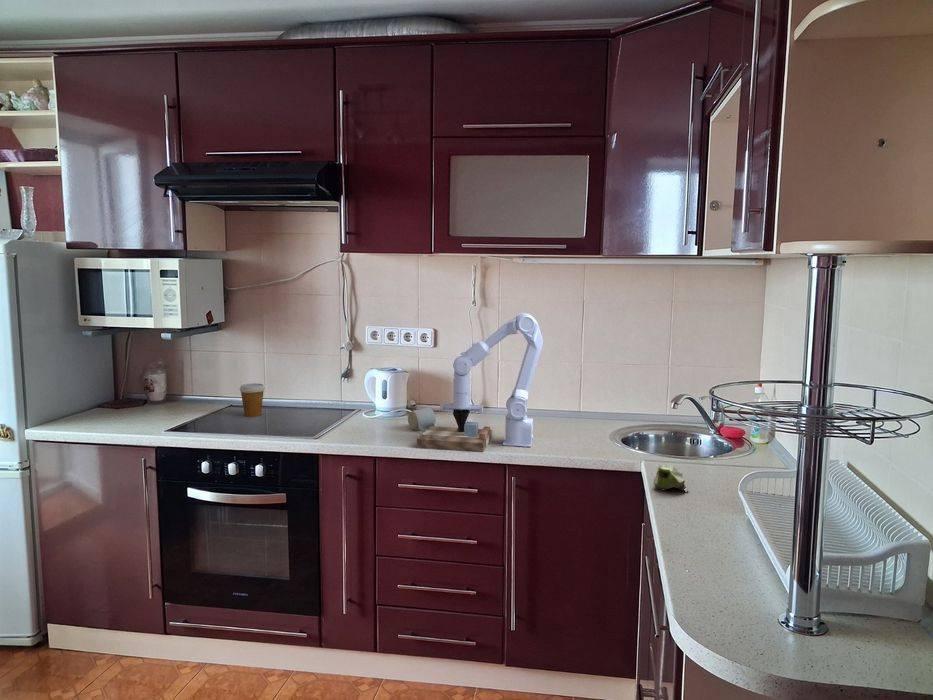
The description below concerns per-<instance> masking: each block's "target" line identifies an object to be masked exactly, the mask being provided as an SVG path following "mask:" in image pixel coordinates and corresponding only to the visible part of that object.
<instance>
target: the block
mask: <svg viewBox="0 0 933 700" xmlns="http://www.w3.org/2000/svg"><path fill="white" fill-rule="evenodd" d="M478 429H479V422H476V421H475V422H474V421H466V423H465V424H464V436H470V437H476V436H477V435H478Z"/></svg>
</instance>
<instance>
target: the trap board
mask: <svg viewBox="0 0 933 700" xmlns="http://www.w3.org/2000/svg"><path fill="white" fill-rule="evenodd" d="M491 438H492V439H493V429H491V426H484V427H482V428H478V435H477V436H476V437H470V436H464V431H463V433H461V432H459V429H458V427H455V426H454V427H451V426H436V425H435V426H430V427H429V428H428V429H427V430H426V431H425V432H422V434H421V435H420V436H419V437H417V439H416V447H417V449H429V450H430V449H432V450H443V451H444V450H445V451H460V452H475V453H477V452H478V453H484V452H485V450H486V448H487V447H488V445H489V444H490V442H491V440H492V439H491ZM488 443H489V444H488Z"/></svg>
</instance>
